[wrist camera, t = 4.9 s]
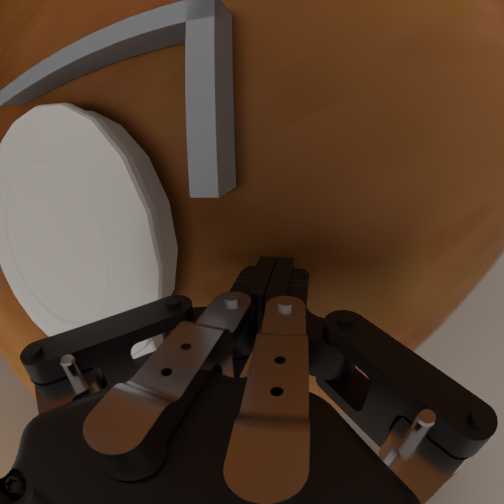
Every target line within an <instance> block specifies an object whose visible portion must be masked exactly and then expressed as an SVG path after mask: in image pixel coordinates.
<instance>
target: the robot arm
mask: <svg viewBox="0 0 504 504" xmlns="http://www.w3.org/2000/svg"><path fill="white" fill-rule="evenodd" d="M308 281H309V274H308V273H307V272H306V270H305V269H294V258H283V257H278V259H277V257H265V256H261V257H260V259H259V261H258V264H257V266H248V267H246V268H245V269H243V270H242V271H241V273H240V274H239V277H238V278H237V279H236V281H235V283H234V285H233V286H232V288H231V290H230V291H229V292H225V293H222V294H220V295H218V296H217V297H215V299H214V300H213V301H212V302H211V303H210V305H209V306H207V307H194V308H193V307H192V301H191V299H190V298H188V297H186V296H181V295H173V296H168V297H165V298H162V299H159V300H156V301H153V302H151V303H148V304H145V305H142V306H139V307H136V308H133V309H130V310H127V311H125V312H122V313H119V314H116V315H113V316H110V317H107V318H104V319H101V320H98V321H95V322H92V323H89V324H86V325H83V326H80V327H77V328H75V329H72V330H69V331H66V332H63V333H60V334H57V335H54V336H50V337H47V338H44V339H41V340H38V341H35V342H33V343H31V344H29V345H28V346H26V347H25V348H24V349H23V351H22V352H21V355H20V359H21V362H22V364H23V365H24V367H25V369H26V371H27V372H28V374H29V376H30V379H31V381H32V383H33V384H34V386H35V391H36V399H37V405H38V411H39V415H37V416H36V417H35V418H33V419H32V420H31V421H30V422H29V423H28V425H27V426H26V428H25V429H24V431H23V434H22V437H21V441H20V446H19V450H18V454H17V457H16V460H15V462H14V464H13V466H12V469H11V470H10V472H9V473H8V474H7V475H6V476H5V477H3V478H1V479H0V504H425V503H426V502H427V501H428V500H429V499H430V498H431V497H432V496H433V495H434V494H435V493H436V492H437V491H438V489H440V487H441V486H442V485H443V484H444V483H445V482H447V481H448V480H449V479H450V478H451V477H452V476H453V475H454V474H456V473H457V472H458V471H459V470H460V469H461V468H462V467H463V466H464V465H465V464H466V463H467V462H468V461H469V460H470V459H471V458H472V457H473V456H474V455H475V454H476V453H477V452H478V451H479V450H480V448H481V447H482V446H483V445H484V444H485V443H486V442H487V441H488V440H489V438H490V437H491V436H492V435H493V434H494V432H495V431H496V428H497V423H498V421H497V416H496V413H495V411H494V410H493V409H492V408H491V406H489V405H488V404H487V403H485V402H484V401H483V400H481V399H480V398H478V397H477V396H476V395H474V394H473V393H471V392H470V391H469V390H467V389H466V388H464V387H462V386H461V385H460V384H458V383H457V382H456V381H454V380H453V379H451V378H450V377H448V376H447V375H446V374H444V373H443V372H441V371H440V370H439V369H437V368H436V367H434V366H433V365H431V364H430V363H428V362H427V361H426V360H424V359H422V358H421V357H420V356H419V355H417V354H416V353H414V352H413V351H411V350H410V349H408V348H407V347H406V346H404V345H403V344H401V343H400V342H398V341H397V340H395V339H394V338H393V337H391V336H390V335H388V334H387V333H385V332H384V331H382V330H381V329H379V328H378V327H377V326H375V325H374V324H372V323H371V322H369V321H368V320H366V319H365V318H363V317H362V316H361V315H359V314H357V313H355V312H352V311H347V310H338V311H333V312H331V313H329V314H328V315H327V316H326V317H325V318H321V317H318V316H316V315H314V314H312V313H311V312H309V311H308V309H307V295H308ZM160 334H162V337H163V343H162V344H161V345H160V346H159V347H158V348H157V349H156V351H153V352H151V353H148V354H146V355H143V356H141V357H138V358H135V359H133V358H132V355H131V349H132V347H133V346H134V345H135V344H137V343H139V342H142V341H144V340H147V339H149V338H152V337H155V336H157V335H160ZM249 366H250V368H249ZM355 366H357V367H358V368H359V369H361V370H362V371H363V372H364V373H365V374H366V375H367V376H368V378H369V379H368V378H366V377H365V376H364V375H363V374H362V373H361V372H359V371H358V370H357V369H356V368H355ZM94 367H95V368H94ZM248 369H249V373H248V377H245V375H246V373H247V371H248ZM309 375H312V376H316V382H317V384H318V386H319V387H320V388H321V389H322V390H323V391H324V392H325V393H326V394H327V395H328V396H329V397H330V398H331V399H332V400H333V401H334V402H335V403H336V404H337V405H338V406H339V407H340V408H341V409H342V410H343V411H344V412H345V413H346V414H347V415H348V416H349V417H350V418H351V419H352V420H353V421H354V422H355V423H356V424H357V425H358V426H359V427H360V428H361V429H362V430H363V431H364V432H365V433H366V434H367V435H368V436H369V437H370V438H371V439H372V440H373V441H374V442H375V443H376V444H377V445H378V446H379V447H380V451H379V457H378V456H377V454H376V453H375V452H374V451H373V450H372V449H371V448H370V447H369V446H368V445H367V444H366V443H365V442H364V441H363V440H362V438H360V437H359V435H358V434H357V433H356V432H355V431H354V430H353V429H352V428H351V427H350V425H349V424H348V423H347V422H346V421H345V420H344V419H343V418H342V417H341V416H340V414H339V413H338V412H337V411H336V410H335V409H334V408H333V407H332V406H331V405H330V404H329V403H328V402H326V401H325V400H324V399H322V398H321V397H319V396H317V395H315V394H313V393H311V392H309Z"/></svg>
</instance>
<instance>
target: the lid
mask: <svg viewBox="0 0 504 504" xmlns="http://www.w3.org/2000/svg"><path fill="white" fill-rule="evenodd" d="M177 254H178V246H177V241H176V236H175V230H174V225H173V220H172V214H171V209H170V203H169V200H168V198H167V195H166V193H165V191H164V189H163V187H162V185H161V182H160V180H159V178H158V176H157V174H156V171H155V169H154V167H153V165H152V163H151V160H150V158H149V156H148V155H147V154H146V153H145V152H144V151H143V150H142V148H141V147H140V146H139V145H138V144H137V143H136V141H135V140H134V139H133V138H132V137H131V136H130V135H129V133H128V132H127V131H126V130H125V129H124V128H123V126H122V125H120V124H118V123H116V122H114V121H112V120H110V119H108V118H106V117H104V116H102V115H100V114H98V113H96V112H94V111H85V110H83V109H81V108H79V107H77V106H75V105H73V104H71V103H57V104H46V105H37V106H36V107H34V108H33V109H31V110H30V111H28V112H27V113H25V114H24V115H23V116H21V117H20V118H19V119H17V120H16V121H15V122H14V123H13V124H12V126H11V127H10V129H9V130H8V132H7V133H6V135H5V137H4V138H3V140H2V141H1V143H0V265H1V268H2V270H3V273H4V275H5V277H6V279H7V281H8V283H9V285H10V287H11V289H12V291H13V293H14V295H15V297H16V298H17V300H18V301H19V303H20V304H21V305H22V307H23V308H24V310H25V311H26V312H27V314H28V315H29V317H30V318H31V319H32V321H33V322H34V323H35V324H36V325H37V326H38V327H39V328H40V329H41V330H42V331H43V332H44V333H45V334H46V335H47V336H49V337H50V336H54V335H57V334H60V333H63V332H66V331H69V330H72V329H75V328H77V327H80V326H83V325H86V324H89V323H92V322H95V321H98V320H101V319H104V318H107V317H110V316H113V315H116V314H119V313H122V312H125V311H127V310H130V309H133V308H136V307H139V306H142V305H145V304H148V303H151V302H153V301H156V300H159V299H162V298H165V297H168V296H172V293H173V291H174V289H175V277H176V265H177ZM162 343H163V337H162V334H160V335H157V336H155V337H152V338H149V339H147V340H144V341H142V342H139V343H137V344H135V345H134V346H133V347H132V349H131V355H132V358H133V359H135V358H138V357H141V356H143V355H146V354H148V353H151V352H153V351H156V349H157V348H158V347H159V346H160V345H161V344H162Z"/></svg>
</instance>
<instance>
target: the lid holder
mask: <svg viewBox="0 0 504 504" xmlns="http://www.w3.org/2000/svg"><path fill="white" fill-rule="evenodd" d="M183 43H185V102H186V135H187V157H188V175H189V190H190V198H219V197H220V196H222V195H224V194H226V193H227V192H229V191H231V190H233V189H234V188H236V166H235V133H234V95H233V44H232V14H231V13H230V12H229V10H228V9H227V8H226V7H225V5H224V4H223V3H222V2H221V1H220V0H183V1H180V2H176V3H172V4H169V5H165V6H162V7H159V8H155V9H152V10H149V11H146V12H143V13H140V14H138V15H135V16H132V17H130V18H127V19H124V20H122V21H119V22H117V23H114V24H112V25H110V26H107V27H105V28H103V29H101V30H98V31H96V32H94V33H92V34H90V35H88V36H86V37H84V38H82V39H80V40H78V41H76V42H74V43H72V44H70V45H69V46H67V47H65V48H63V49H61V50H60V51H58V52H56V53H54V54H53V55H51V56H49V57H48V58H46V59H45V60H43V61H41V62H40V63H38V64H37V65H35V66H34V67H32V68H31V69H29V70H28V71H26V72H25V73H23V74H22V75H21V76H19V77H18V78H16V79H15V80H14V81H12V82H11V83H10V84H8V85H7V86H6V87H4V88H3V89H2V90H1V91H0V106H6V105H20V104H26V103H28V102H30V101H32V100H33V99H35V98H37V97H39V96H41V95H43V94H44V93H46V92H48V91H50V90H52V89H54V88H56V87H58V86H60V85H62V84H64V83H67V82H69V81H71V80H73V79H75V78H78V77H80V76H82V75H85V74H87V73H89V72H92V71H94V70H97V69H99V68H102V67H105V66H107V65H110V64H113V63H116V62H119V61H122V60H125V59H128V58H131V57H134V56H137V55H140V54H144V53H147V52H151V51H154V50H158V49H162V48H166V47H170V46H174V45H178V44H183Z"/></svg>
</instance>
